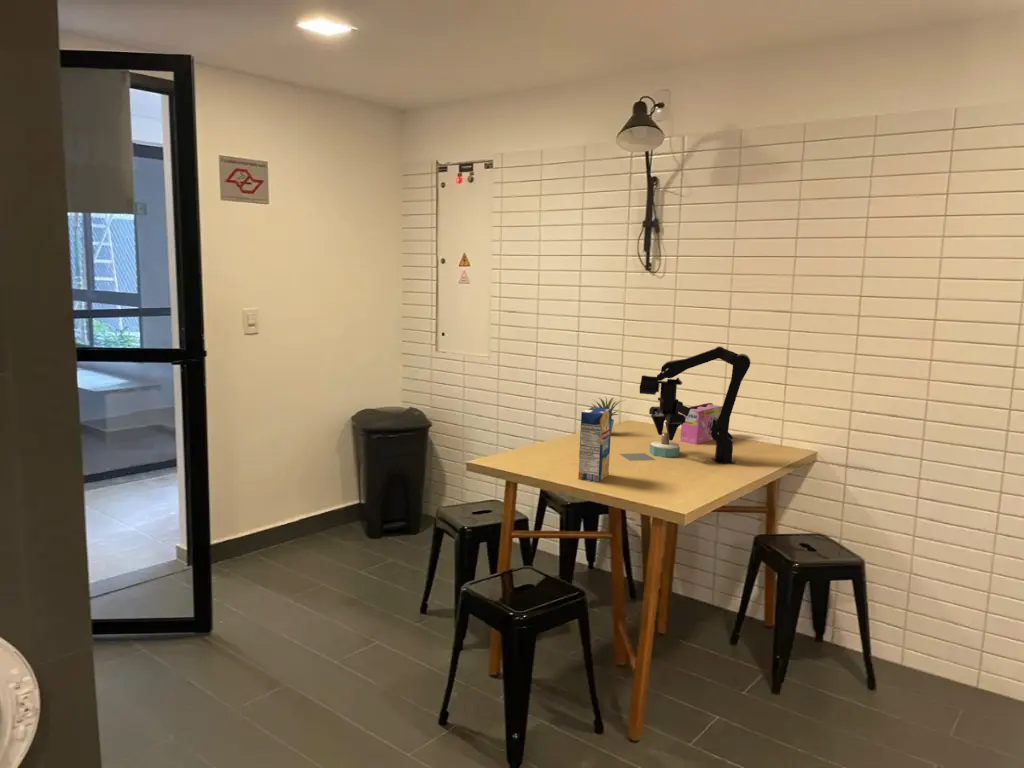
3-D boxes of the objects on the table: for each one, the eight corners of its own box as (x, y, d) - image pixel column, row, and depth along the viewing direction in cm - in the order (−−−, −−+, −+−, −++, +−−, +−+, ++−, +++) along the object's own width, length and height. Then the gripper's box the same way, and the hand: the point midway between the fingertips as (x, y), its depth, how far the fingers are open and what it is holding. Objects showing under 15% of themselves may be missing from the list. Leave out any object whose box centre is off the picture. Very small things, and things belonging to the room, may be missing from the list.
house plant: (620, 431, 324) (623, 393, 321) (627, 438, 310) (630, 398, 308) (587, 430, 323) (589, 392, 320) (593, 437, 309) (595, 397, 307)
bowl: (682, 458, 278) (683, 448, 278) (657, 459, 276) (658, 449, 275) (670, 451, 288) (671, 442, 287) (646, 452, 285) (646, 443, 285)
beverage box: (578, 479, 244) (581, 411, 241) (588, 471, 254) (592, 406, 251) (598, 482, 242) (602, 414, 238) (608, 474, 252) (612, 409, 248)
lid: (683, 448, 277) (684, 435, 277) (658, 449, 275) (658, 436, 274) (671, 442, 287) (672, 430, 286) (646, 443, 285) (647, 430, 284)
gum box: (708, 433, 325) (710, 402, 323) (725, 436, 320) (727, 404, 318) (679, 441, 308) (681, 408, 306) (697, 444, 302) (699, 411, 300)
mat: (655, 461, 272) (655, 459, 272) (629, 461, 270) (629, 460, 270) (644, 454, 282) (644, 453, 282) (619, 455, 280) (619, 453, 279)
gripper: (700, 400, 271) (697, 442, 274) (677, 391, 289) (674, 432, 292) (671, 400, 269) (668, 443, 271) (649, 391, 287) (647, 432, 289)
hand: (665, 437), depth 281 cm, fingers open, 9 cm apart
